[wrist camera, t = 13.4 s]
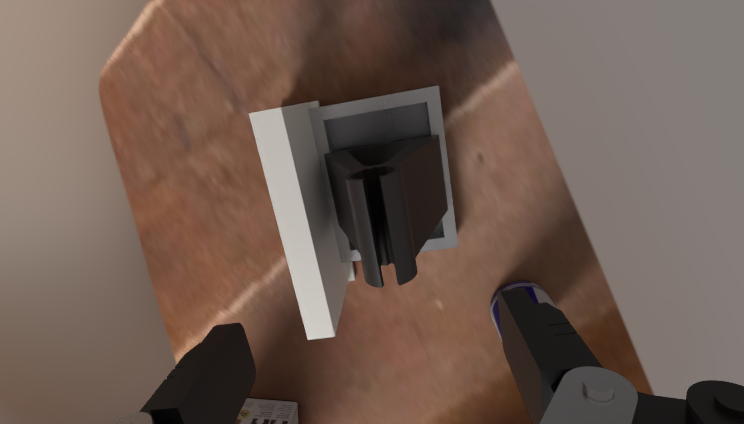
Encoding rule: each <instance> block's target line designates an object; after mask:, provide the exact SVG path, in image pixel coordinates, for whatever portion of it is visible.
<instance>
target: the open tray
mask: <svg viewBox="0 0 744 424" xmlns="http://www.w3.org/2000/svg"><path fill="white" fill-rule="evenodd" d="M308 113H309V117H310V122H311V126H312V131H313V136H314V140H315V145H316V149H317V154H318V159H319V163H320V168H321V172H322V177H323V182H324V186H325V191H326V195H327V200H328V205H329V209H330V214H331V218H332V223H333V228H334V232H335V237H336V241H337V246H338V251H339V255H340V260H341V263H345V262H352V261H359V260H361V256H360V253H359V252H358V251H357V249H356V248H355V247H354V245H353V244H352V243H351V241H350V240H349V239H348V237H347V236H346V235H345V233H344V232H343V231H342V229H341V228H340V227H339V224H338V219H337V214H336V210H335V205H334V200H333V196H332V191H331V186H330V181H329V177H328V172H327V167H326V163H325V158H324V154H326V153H331V152H337V151H343V150H349V149H355V148H361V147H367V146H373V145H381V144H385V143H391V142H397V141H402V140H408V139H414V138H420V137H426V136H432V135H439V139H440V148H441V156H442V164H443V172H444V180H445V188H446V196H447V204H448V211H447V212H446V214H445V215H444V216H443V218H442V219H441V221H440V222H439V224H438V225H437V227H436V228H435V230H434V231H433V233H432V234H431V236H430V237H429V239H428V240H427V242H426V243H425V245H424V246H423V247H422V249H421V250H420V252H425V251H432V250H439V249H446V248H454V247H458V241H457V233H456V224H455V216H454V208H453V200H452V191H451V183H450V175H449V167H448V158H447V150H446V142H445V133H444V125H443V117H442V109H441V100H440V92H439V85H436V86H431V87H425V88H420V89H414V90H409V91H403V92H398V93H392V94H387V95H381V96H376V97H370V98H365V99H359V100H354V101H348V102H343V103H337V104H332V105H326V106H321V107H316V108H311V109H308Z"/></svg>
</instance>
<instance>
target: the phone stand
mask: <svg viewBox="0 0 744 424" xmlns="http://www.w3.org/2000/svg"><path fill="white" fill-rule="evenodd" d="M324 158H325V163H326V167H327V172H328V177H329V181H330V186H331V191H332V196H333V200H334V205H335V210H336V214H337V219H338V224H339V227H340V228H341V229H342V231H343V232H344V233H345V235H346V236H347V237H348V239H349V240H350V241H351V243H352V244H353V245H354V247H355V248H356V249H357V251H358V252H359V253H360V256H361V261H362V266H363V271H364V276H365V281H366V282H367V283H368V284H369V285H371V286H374V287H380V288H382V287H383V286H384V283H383V277H382V272H381V265H389V264H390V263H393V264H394V265H395V271H396V277H397V283H398V284H399V285H402V284H405V283H407V282H409V281H410V280H412V279H413V278H414V277H415V276H416V274H417V266H416V259H415V258H416V256H417V255H418V253H419V252H420V250H421V249H422V247H423V246H424V245H425V243H426V242H427V240H428V239H429V237H430V236H431V234H432V233H433V231H434V230H435V228H436V227H437V225H438V224H439V222H440V221H441V219H442V218H443V216H444V215H445V214H446V212H447V211H448V204H447V196H446V188H445V180H444V172H443V164H442V156H441V148H440V139H439V135H432V136H426V137H420V138H414V139H408V140H402V141H397V142H391V143H385V144H381V145H373V146H367V147H361V148H355V149H349V150H343V151H337V152H331V153H326V154H324Z"/></svg>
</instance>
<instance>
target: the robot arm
mask: <svg viewBox="0 0 744 424" xmlns="http://www.w3.org/2000/svg"><path fill="white" fill-rule="evenodd" d="M498 307H499V317H500V328H501V338H502V344H503V348H504V352H505V356H506V359H507V361H508V364H509V366H510V368H511V371H512V373H513V376H514V378H515V381H516V383H517V386H518V388H519V391H520V393H521V396H522V398H523V401H524V403H525V405H526V408H527V410H528V413H529V415H530V418H531V420H532V423H533V424H744V386H741V385H738V384H734V383H730V382H725V381H711V380H710V381H701V382H698V383H695V384H693V385H692V386H691V387H689V389H688V391H687V395H686V400H683V399H676V398H668V397H661V396H654V395H648V394H644V393H640V392H637V391H636V389H635V388H634V386H633V385H632V384H631V383H630V382H629V381H628V380H627V379H626V378H624V377H623V376H621V375H619V374H618V373H615V372H613V371H611V370H608V369H604V368H603V367H602V366H601V364H600V363H599V362H598V360H597V359H596V358H595V356H594V355H593V353H592V352H591V351H590V349H589V348H588V347H587V345H586V344H585V343H584V341H583V340H582V339H581V337H580V336H579V335H577V332H576V330H575V329H574V328H573V326H572V325H570V322H569V321H568V320H567V318H566V317H565V316H564V314H563V313H562V311H560V310H559V309H557V308H555V307H554V306H552V305H550V304H549V303H547V302H544V303H536V304H535V303H534V302H533V300H532V299H531V297H530V296H529V294H528V293H527V291H526V289H525V288H517V289H509V290H501V291H498ZM255 373H256V371H255V363H254V360H253V356H252V353H251V350H250V347H249V343H248V340H247V337H246V334H245V331H244V328H243V326H242V325H241V324H240V323H232V324H224V325H216V326H214V327H213V328H212V330H211V331H210V332H209V333H208V335H207V336H206V337H205V339H204V340H203V341H202V343H199V344H198V345H197V346H195V347H194V348H193V349H191V350H190V351H189V352H188V353H186V354H185V355H184V356H183V358H182V359H181V360H180V361H179V363H178V364H177V365H176V366H175V369H173V370H172V371H171V373H170V374H169V375H168V376H167V379H166V380H164V381H163V383H162V384H161V385H160V386H159V388H158V389H157V390H156V391H155V393H154V394H153V395H152V397H151V398H150V399H149V400H148V402H147V403H146V404H145V405H144V407H143V408H142V409H141V410H140V412H137V413H131V414H128V415H125V416H123V417H121V418H119V419H117V420H115V421H113V422H112V423H110V424H234V423H235V421H236V419H237V417H238V415H239V413H240V411H241V409H242V407H243V405H244V403H245V401H246V399H247V397H248V395H249V393H250V390H251V388H252V386H253V384H254V381H255Z"/></svg>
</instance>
